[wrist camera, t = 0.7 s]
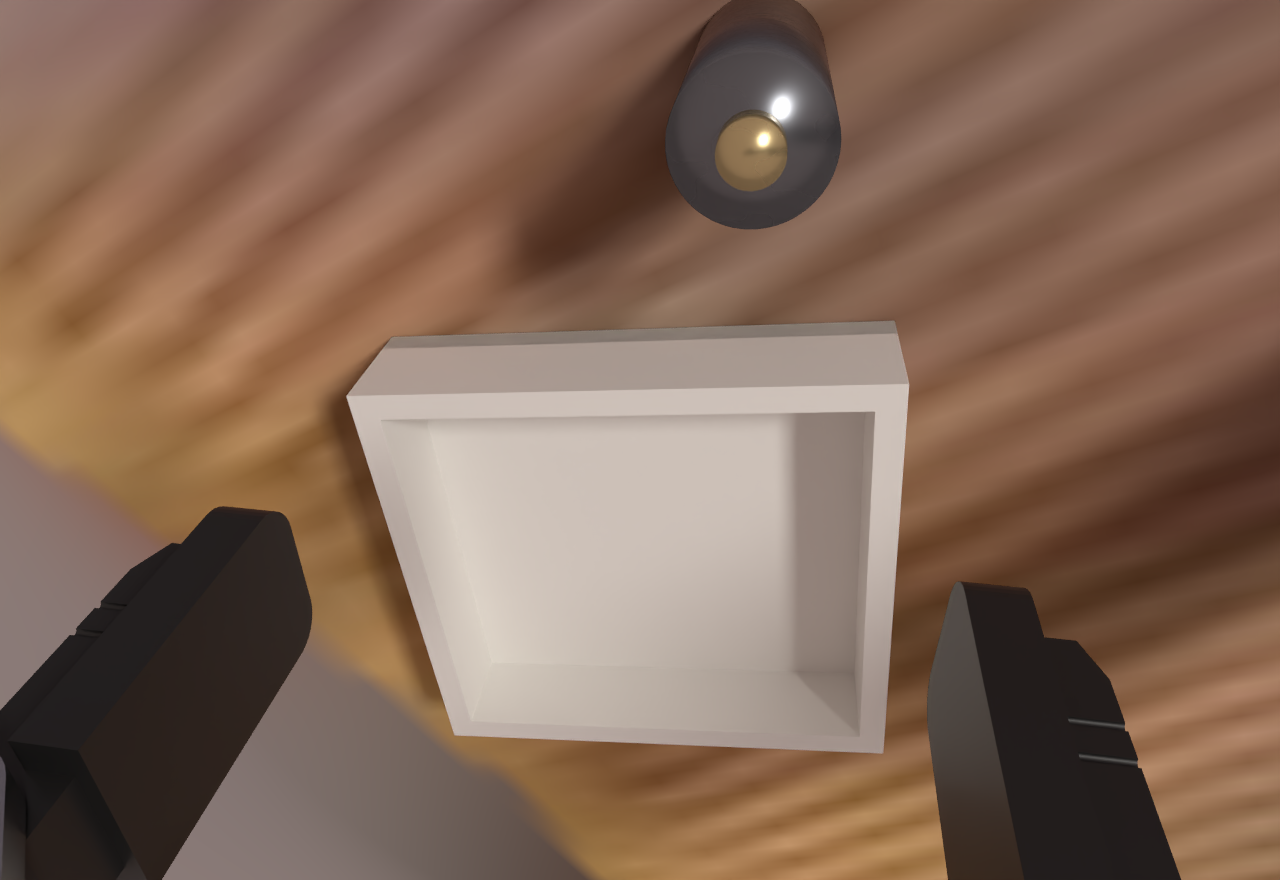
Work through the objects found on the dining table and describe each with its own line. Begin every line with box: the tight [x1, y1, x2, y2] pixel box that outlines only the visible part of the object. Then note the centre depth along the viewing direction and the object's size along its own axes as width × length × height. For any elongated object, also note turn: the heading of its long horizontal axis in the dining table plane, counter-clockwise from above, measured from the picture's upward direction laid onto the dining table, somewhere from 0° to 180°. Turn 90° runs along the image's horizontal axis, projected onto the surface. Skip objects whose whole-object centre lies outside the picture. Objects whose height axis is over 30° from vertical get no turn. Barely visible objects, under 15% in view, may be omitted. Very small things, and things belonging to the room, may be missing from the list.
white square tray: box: [346, 321, 909, 753], centre depth 37 cm, size 19×18×4 cm
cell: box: [665, 0, 841, 229], centre depth 24 cm, size 4×4×10 cm
